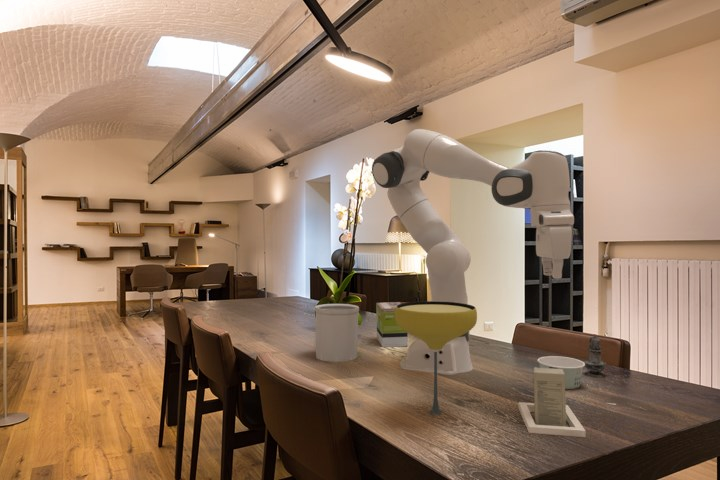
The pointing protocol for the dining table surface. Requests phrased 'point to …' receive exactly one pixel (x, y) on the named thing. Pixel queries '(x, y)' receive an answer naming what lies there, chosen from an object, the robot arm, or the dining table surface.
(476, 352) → the dining table surface
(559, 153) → the robot arm
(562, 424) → the skincare box
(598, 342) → the grey tiered upright piece
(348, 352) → the utensil holder
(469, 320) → the cocktail glass
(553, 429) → the beige flat frame
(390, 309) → the tea box
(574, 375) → the food container
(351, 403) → the dining table surface
